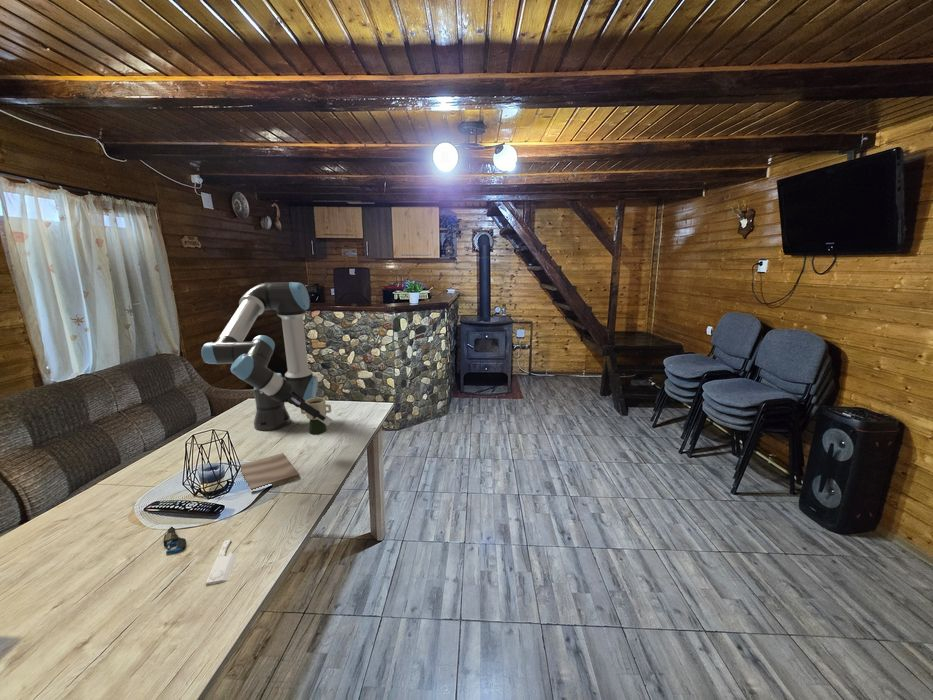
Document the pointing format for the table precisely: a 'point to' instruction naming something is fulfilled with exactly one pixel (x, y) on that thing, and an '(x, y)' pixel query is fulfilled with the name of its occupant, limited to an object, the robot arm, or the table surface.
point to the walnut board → (268, 471)
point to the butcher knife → (222, 565)
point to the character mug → (315, 425)
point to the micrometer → (173, 541)
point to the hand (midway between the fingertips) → (326, 419)
